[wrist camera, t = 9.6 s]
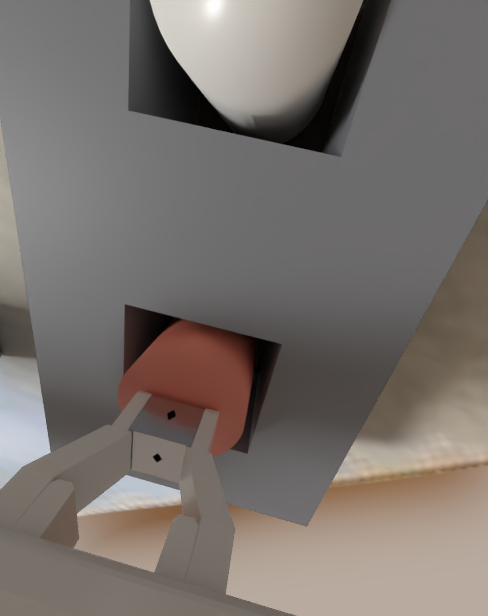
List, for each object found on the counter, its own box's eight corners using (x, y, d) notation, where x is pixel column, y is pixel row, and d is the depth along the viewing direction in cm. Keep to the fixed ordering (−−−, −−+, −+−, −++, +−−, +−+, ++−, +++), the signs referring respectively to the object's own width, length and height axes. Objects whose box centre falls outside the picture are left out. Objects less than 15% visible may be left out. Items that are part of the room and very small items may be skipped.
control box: (119, -216, 9) (-154, -898, 3) (542, -148, 8) (1069, -852, 3) (116, 381, 19) (50, 453, 14) (300, 430, 19) (306, 526, 13)
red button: (182, 285, 14) (117, 340, 9) (268, 306, 14) (258, 377, 8) (174, 357, 16) (117, 439, 11) (249, 377, 16) (231, 471, 10)
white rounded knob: (223, -14, 10) (149, -273, 4) (347, 11, 10) (430, -231, 4) (205, 133, 12) (138, 78, 6) (308, 156, 12) (330, 119, 6)
